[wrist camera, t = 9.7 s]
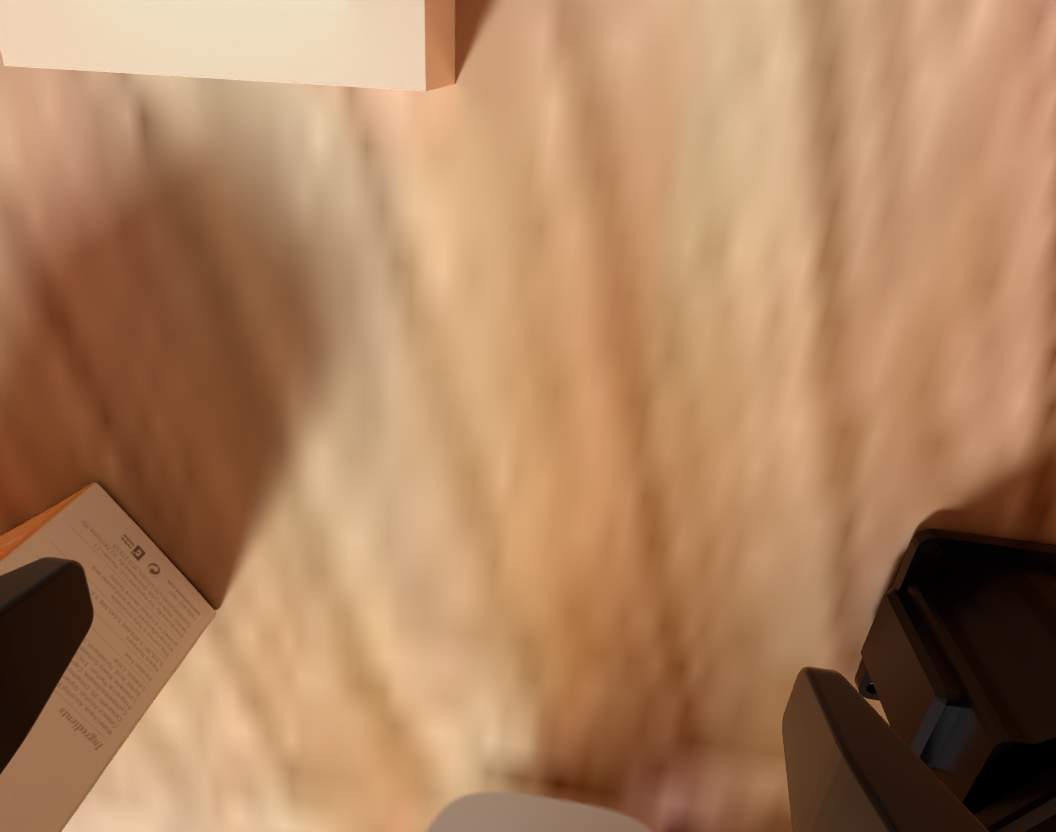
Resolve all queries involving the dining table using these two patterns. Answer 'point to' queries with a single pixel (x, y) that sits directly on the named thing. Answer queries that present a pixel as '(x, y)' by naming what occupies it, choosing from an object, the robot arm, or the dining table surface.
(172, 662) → the small box
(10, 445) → the dining table surface
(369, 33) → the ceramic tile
